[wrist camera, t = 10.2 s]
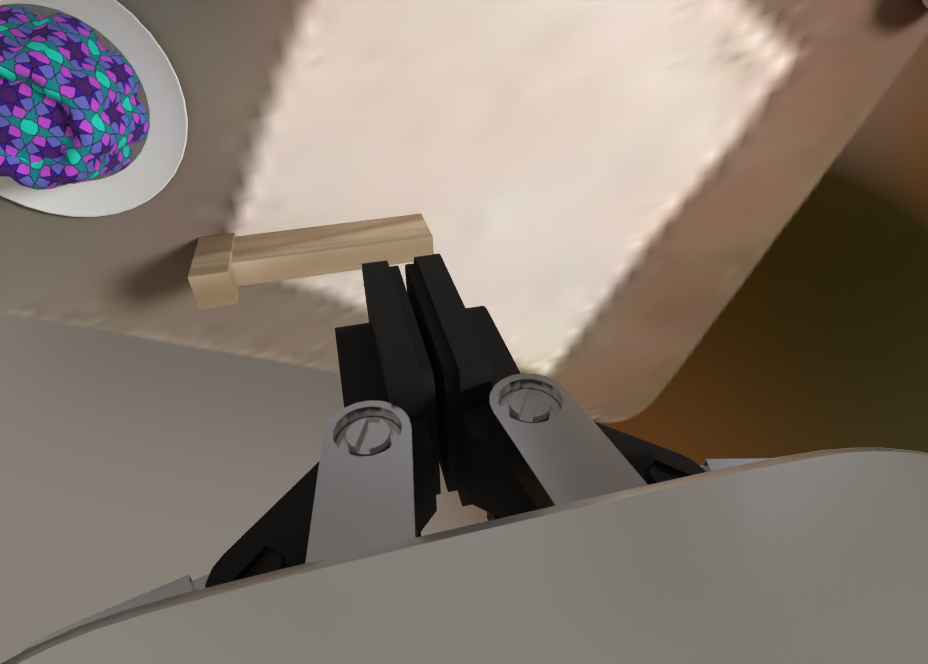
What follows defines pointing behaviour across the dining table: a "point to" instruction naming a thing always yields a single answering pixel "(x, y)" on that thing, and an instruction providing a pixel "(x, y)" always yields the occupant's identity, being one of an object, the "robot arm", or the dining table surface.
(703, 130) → the dining table surface
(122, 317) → the dining table surface
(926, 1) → the white patterned lump
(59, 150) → the pudding
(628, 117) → the dining table surface
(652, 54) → the dining table surface
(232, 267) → the pair of beige bars
